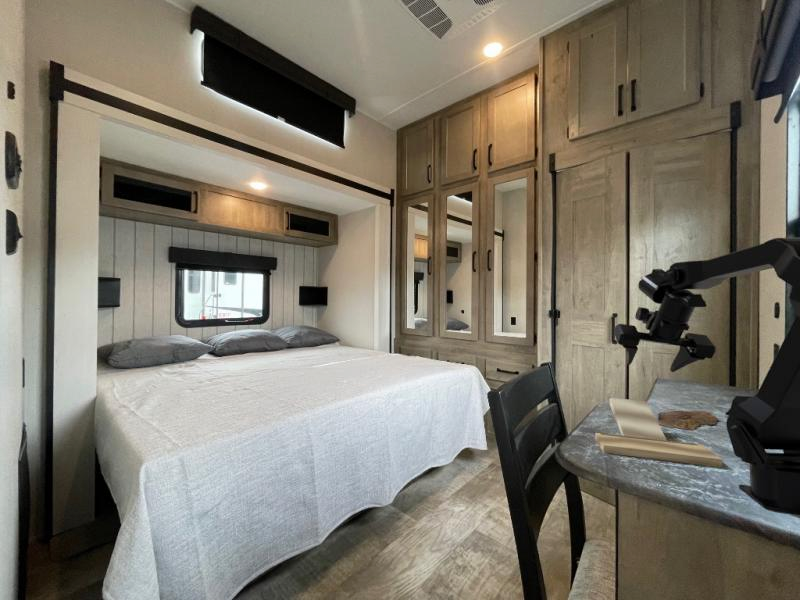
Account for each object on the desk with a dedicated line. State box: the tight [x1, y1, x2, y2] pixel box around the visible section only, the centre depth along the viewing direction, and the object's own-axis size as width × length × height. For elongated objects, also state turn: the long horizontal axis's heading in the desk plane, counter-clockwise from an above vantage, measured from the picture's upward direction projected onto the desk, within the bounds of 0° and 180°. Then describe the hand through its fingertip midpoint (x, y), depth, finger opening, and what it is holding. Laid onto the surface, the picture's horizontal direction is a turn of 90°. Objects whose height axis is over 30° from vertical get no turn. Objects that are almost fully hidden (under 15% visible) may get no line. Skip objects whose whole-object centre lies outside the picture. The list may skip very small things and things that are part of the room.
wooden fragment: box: [657, 410, 721, 432], centre depth 90 cm, size 26×11×1 cm, turn 114°
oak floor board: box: [595, 432, 723, 468], centre depth 70 cm, size 7×20×2 cm, turn 71°
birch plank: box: [608, 397, 668, 441], centre depth 79 cm, size 13×8×2 cm, turn 162°
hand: (649, 367), depth 81 cm, fingers open, 9 cm apart
